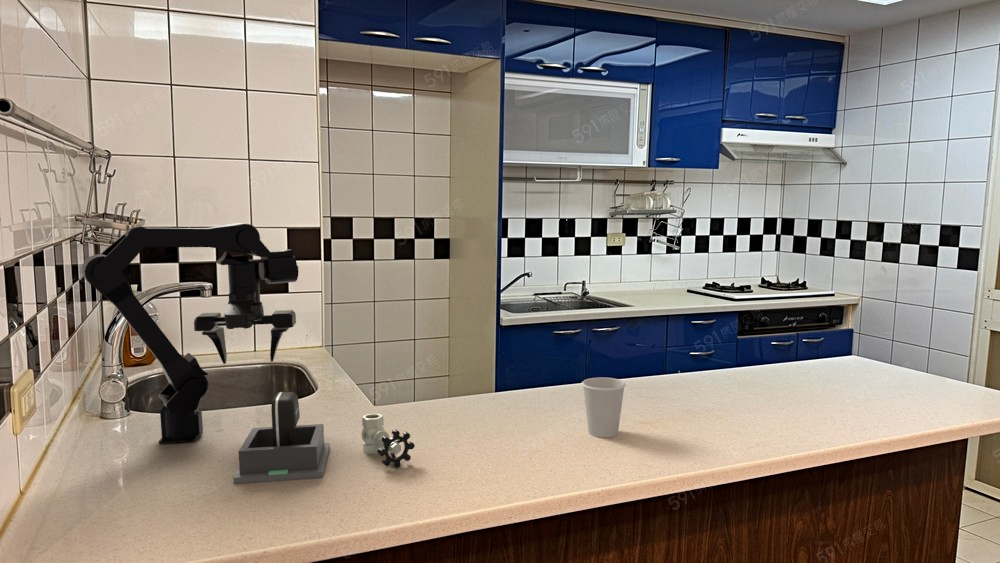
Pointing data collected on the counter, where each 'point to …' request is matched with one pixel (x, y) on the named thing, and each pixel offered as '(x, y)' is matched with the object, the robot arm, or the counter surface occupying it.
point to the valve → (384, 440)
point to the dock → (282, 455)
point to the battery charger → (284, 417)
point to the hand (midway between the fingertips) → (248, 362)
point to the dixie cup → (603, 405)
